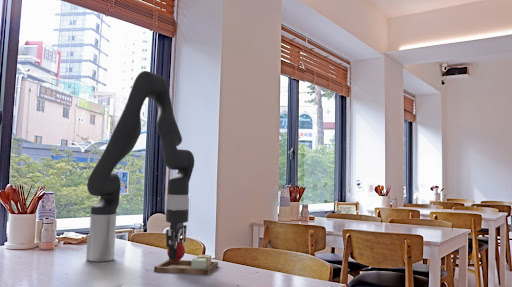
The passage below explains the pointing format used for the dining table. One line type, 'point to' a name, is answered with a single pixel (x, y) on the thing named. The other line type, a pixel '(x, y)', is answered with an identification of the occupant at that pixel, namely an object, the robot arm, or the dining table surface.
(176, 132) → the robot arm
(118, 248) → the dining table surface
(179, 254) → the onion
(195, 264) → the sage block
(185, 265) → the tray
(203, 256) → the oak block
